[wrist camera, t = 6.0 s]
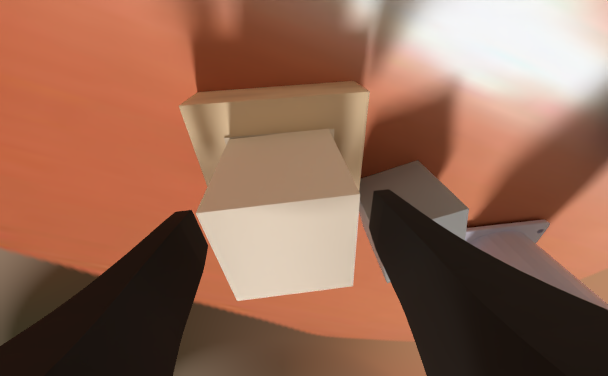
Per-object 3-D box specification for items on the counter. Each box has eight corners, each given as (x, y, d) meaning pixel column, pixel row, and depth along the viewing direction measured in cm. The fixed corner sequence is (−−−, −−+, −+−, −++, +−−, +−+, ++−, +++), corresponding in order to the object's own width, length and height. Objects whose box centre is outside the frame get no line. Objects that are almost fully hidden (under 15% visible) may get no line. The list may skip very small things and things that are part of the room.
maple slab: (344, 198, 17) (355, 228, 14) (234, 208, 16) (226, 240, 14) (351, 79, 12) (370, 92, 10) (200, 90, 12) (177, 106, 9)
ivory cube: (329, 204, 13) (352, 286, 9) (250, 214, 13) (237, 300, 9) (328, 128, 10) (360, 194, 6) (228, 139, 10) (195, 213, 6)
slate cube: (420, 208, 18) (462, 263, 13) (362, 225, 18) (386, 283, 14) (417, 159, 15) (468, 208, 11) (351, 181, 16) (376, 235, 11)
